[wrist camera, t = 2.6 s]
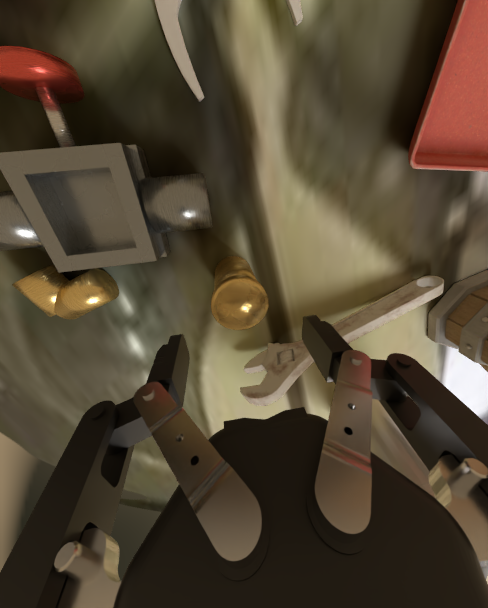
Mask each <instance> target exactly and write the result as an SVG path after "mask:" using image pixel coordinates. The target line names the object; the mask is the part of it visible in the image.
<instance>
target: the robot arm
mask: <svg viewBox="0 0 488 608" xmlns="http://www.w3.org/2000/svg"><path fill="white" fill-rule="evenodd" d="M302 339H303V343H304V345H305V346H306V348H307V350H308V351H309V353H310V355H311V356H312V358H313V360H314V361H315V363H316V365H317V366H318V368H319V370H320V372H321V373H322V375H323V377H324V378H325V380H326V382H333V381H334V382H335V384H336V386H335V391H334V396H333V400H332V405H331V410H330V415H329V419H328V421H327V420H326V419H324V418H321V417H319V416H316V415H312V414H307V413H306V411H305V409H304V407H302V408H296V409H291V410H285V411H283V412H281V413H279V414H276V415H274V416H272V417H270V418H268V419H251V418H241V419H235V420H230V421H224V429H222V430H220V431H219V432H217V433H215V434H214V435H213V436H212V437H211V438H210V439H209V440H208V439H207V438H206V437H205V435H204V434H203V433H202V432H201V430H200V429H199V428H198V427H197V425H196V424H195V423H194V421H193V420H192V419H191V418H190V416H189V415H188V414H187V413H186V411H185V410H184V409H183V408H182V407H183V402H184V395H185V388H186V381H187V375H188V368H189V360H190V358H189V351H188V348H187V345H186V341H185V338H184V335H183V334H180V335H173V336H170V339H169V342H168V344H166V345H163V346H162V347H161V348H160V349H159V350H158V352H157V355H156V357H155V358H156V359H155V360H154V364H153V366H152V369H151V371H150V374H149V377H148V380H147V383H146V384H145V385H143V386H142V387H140V388H139V389H138V390H137V392H136V393H135V395H134V397H133V398H131V399H129V400H127V401H124V402H122V403H120V404H117V405H115V404H114V403H113V402H112V401H103V402H100V403H98V404H96V405H94V406H93V407H91V408H90V409H89V410H88V411H87V412H86V413H85V414H84V415H83V417H82V419H81V421H80V423H79V424H78V426H77V428H76V430H75V432H74V434H73V436H72V438H71V440H70V441H69V443H68V445H67V447H66V449H65V451H64V453H63V455H62V457H61V458H60V460H59V462H58V464H57V466H56V468H55V470H54V472H53V474H52V476H51V477H50V480H49V481H48V483H47V485H46V487H45V489H44V491H43V493H42V495H41V496H40V498H39V500H38V502H37V504H36V506H35V508H34V510H33V511H32V513H31V515H30V517H29V519H28V521H27V523H26V525H25V527H24V529H23V530H22V533H21V534H20V536H19V538H18V540H17V542H16V544H15V545H14V547H13V549H12V552H11V553H10V555H9V557H8V559H7V561H6V563H5V564H4V566H3V568H2V570H1V572H0V608H488V584H487V581H486V578H487V576H488V425H487V424H486V423H485V422H484V421H483V420H481V419H480V418H479V417H478V416H477V415H476V414H475V413H474V412H473V411H471V410H470V409H469V408H468V407H467V406H466V405H465V404H464V403H463V402H461V401H460V400H459V399H458V398H457V397H456V396H455V395H454V394H453V393H451V392H450V391H449V390H448V389H447V388H446V387H445V386H444V385H443V384H442V383H440V382H439V381H438V380H437V379H436V378H435V377H434V376H433V375H432V374H430V373H429V372H428V371H427V370H426V369H425V368H424V367H423V366H422V365H420V364H419V363H418V362H417V361H416V360H415V359H413V358H411V357H409V356H407V355H404V354H399V353H394V354H390V355H389V356H388V358H387V360H376V359H370V358H369V357H368V356H367V355H366V354H364V353H363V352H360V351H357V350H353V349H352V348H351V347H350V346H349V344H348V343H347V342H346V341H345V340H344V339H343V338H342V337H341V335H340V334H339V333H338V332H337V331H336V330H335V329H334V327H333V326H332V325H330V324H329V323H327V322H325V321H320V319H319V318H318V317H317V316H316V315H311V316H304V317H303V327H302ZM408 395H409V396H410V397H411V398H410V397H409V396H408ZM414 402H415V403H416V404H417V405H416V404H415V403H414ZM150 436H153V438H154V440H155V442H156V443H157V445H158V447H159V449H160V451H161V452H162V454H163V456H164V458H165V460H166V461H167V463H168V465H169V467H170V469H171V470H172V472H173V474H174V476H175V477H176V479H177V481H178V483H179V485H178V487H177V489H176V490H175V492H174V493H173V495H172V497H171V498H170V500H169V501H168V503H167V504H166V506H165V508H164V509H163V511H162V512H161V514H160V516H159V517H158V519H157V520H156V522H155V524H154V525H153V527H152V528H151V530H150V532H149V533H148V535H147V536H146V538H145V540H144V541H143V543H142V544H141V546H140V548H139V549H138V551H137V552H136V554H135V555H134V557H133V559H132V561H131V562H130V564H129V566H128V568H127V570H126V572H125V574H124V576H123V579H122V581H121V582H120V579H119V576H118V560H119V546H118V544H117V542H116V541H115V540H114V539H113V538H112V537H110V536H111V532H112V529H113V524H114V521H115V517H116V513H117V509H118V506H119V502H120V498H121V494H122V490H123V487H124V483H125V479H126V475H127V471H128V468H129V464H130V460H131V456H132V452H133V449H134V445H135V444H136V443H138V442H140V441H142V440H144V439H146V438H148V437H150Z"/></svg>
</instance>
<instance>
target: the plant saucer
mask: <svg viewBox="0 0 488 608" xmlns="http://www.w3.org/2000/svg"><path fill="white" fill-rule="evenodd" d="M408 158H409V164H410V166H411V167H412V168H414V169H435V170H459V171H483V172H488V0H458V2H457V4H456V8H455V11H454V14H453V17H452V20H451V23H450V26H449V29H448V32H447V35H446V38H445V41H444V44H443V47H442V50H441V53H440V56H439V59H438V62H437V65H436V68H435V71H434V74H433V77H432V80H431V83H430V86H429V89H428V92H427V95H426V98H425V101H424V104H423V107H422V110H421V113H420V116H419V119H418V122H417V125H416V128H415V131H414V134H413V137H412V140H411V143H410V148H409V154H408Z"/></svg>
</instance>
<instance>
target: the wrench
mask: <svg viewBox="0 0 488 608" xmlns="http://www.w3.org/2000/svg"><path fill="white" fill-rule="evenodd" d="M426 286H432V287H430V288H427V287H426ZM443 288H444V280H443V279H442V278H440V277H438V276H424V277H421V278H419V279H417V280H414V281H412V282H410V283H408V284H406V285H405V286H403V287H401V288H399V289H397V290H396V291H394V292H392V293H390V294H388V295H387V296H385V297H383V298H381V299H379V300H377V301H375V302H373V303H372V304H370V305H368V306H366V307H364V308H362V309H360V310H358V311H357V312H355V313H353V314H351V315H349V316H347V317H345V318H344V319H342V320H340V321H338V322H336V323H334V324H333V325H332V326H333V327H334V329H335V330H336V331H337V332H338V333H339V334H340V335H341V337H342V338H343V339H344V340H345V341H346V342H347V343H350V342H352V341H353V340H355V339H357V338H359V337H361V336H363V335H365V334H367V333H369V332H371V331H373V330H375V329H376V328H378V327H380V326H382V325H384V324H386V323H388V322H390V321H392V320H394V319H396V318H398V317H400V316H401V315H403V314H405V313H407V312H409V311H411V310H413V309H415V308H417V307H419V306H421V305H423V304H424V303H426V302H428V301H430V300H432V299H434V298H436V297H438V296H440V295H441V294H442V293H443ZM313 362H315V361H314V360H313V358H312V356H311V355H310V353H309V351H308V350H307V348H306V346H305V345H304V343H303V340H301V341H297V342H293V343H286V344H280V343H275V344H272V343H268V349H267V350H265V351H263V352H261V353H259V354H258V355H256V356H255V357H254V358H253V359H251V360H250V361H249V362H248V363H247V364H246V365H245V366H244V371H245V372H246V373H256V372H260V371H263V370H264V369H265V370H266V371H267V372H268V373H267V374H266V376H265V378H264V379H263V381H262V383H261V384H260V385H255V386H248V387H241V388H240V392H241V393H242V395H243V396H244V398H245V399H246V400H247V401H248V402H249V403H251V404H254V405H261V406H266V405H269V404H272V403H274V402H276V401H278V400H279V399H280V398H282V396H283V395H284V394H285V393H286V391H287V390H288V389H289V388H290V386H291V385H292V384H293V383H294V382H295V380H296V379H297V378H298V377H299V376H300V375H301V374H302V373H303V372H304V371H305V370H306V369H307V368H308V367H309V366H310V365H311V364H312V363H313Z"/></svg>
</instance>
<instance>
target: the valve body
mask: <svg viewBox="0 0 488 608" xmlns="http://www.w3.org/2000/svg"><path fill="white" fill-rule="evenodd" d="M0 86H1V87H2V88H3V89H5V90H6V91H8V92H10V93H12V94H14V95H17V96H20V97H23V98H26V99H30V100H34V101H39V102H41V104H42V106H43V109H44V111H45V113H46V116H47V118H48V120H49V123H50V125H51V127H52V130H53V132H54V134H55V137H56V139H57V141H58V144H59V146H60V148H51V149H39V150H27V151H14V152H2V153H0V170H1V171H2V173H3V175H4V177H5V179H6V180H7V182H8V184H9V186H10V187H11V189H12V191H5V192H0V251H6V250H15V249H24V248H32V247H41V246H44V247H45V249H46V251H47V253H48V254H49V256H50V258H51V260H52V262H53V263H54V265H55V267H56V269H57V270H58V272H67V271H76V270H84V269H93V268H101V267H109V266H118V265H126V264H134V263H143V262H151V261H157V260H158V259H159V258H160V257H167V256H168V255H169V253H170V252H171V250H170V247H169V243H168V239H167V235H166V233H167V232H176V231H185V230H194V229H203V228H212V227H213V224H212V216H211V209H210V202H209V195H208V189H207V184H206V178H205V174H204V173H197V174H186V175H175V176H165V177H154V178H151V175H150V171H149V168H148V164H147V160H146V156H145V153H144V149H142V148H140V147H139V146H137V145H124V144H122V143H112V144H100V145H87V146H76V145H75V142H74V140H73V137H72V134H71V132H70V129H69V127H68V124H67V122H66V119H65V117H64V114H63V112H62V109H61V107H60V104H59V103H62V104H63V103H73V102H77V101H80V100H82V99H83V98H84V92H83V89H82V86H81V83H80V80H79V77H78V74H77V72H76V70H75V69H74V68H73V67H72V66H71V65H70V64H69V63H67V62H66V61H64V60H62V59H60V58H58V57H56V56H54V55H51V54H48V53H46V52H43V51H39V50H35V49H31V48H26V47H18V46H0Z"/></svg>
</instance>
